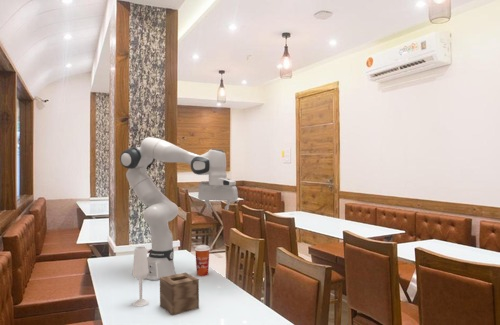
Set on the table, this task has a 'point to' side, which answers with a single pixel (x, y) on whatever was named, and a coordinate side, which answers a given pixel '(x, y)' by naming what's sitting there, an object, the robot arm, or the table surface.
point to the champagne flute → (140, 271)
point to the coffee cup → (202, 259)
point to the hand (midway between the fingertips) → (217, 209)
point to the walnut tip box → (179, 293)
